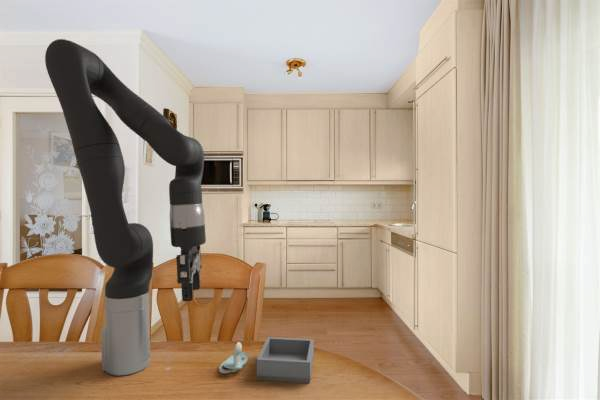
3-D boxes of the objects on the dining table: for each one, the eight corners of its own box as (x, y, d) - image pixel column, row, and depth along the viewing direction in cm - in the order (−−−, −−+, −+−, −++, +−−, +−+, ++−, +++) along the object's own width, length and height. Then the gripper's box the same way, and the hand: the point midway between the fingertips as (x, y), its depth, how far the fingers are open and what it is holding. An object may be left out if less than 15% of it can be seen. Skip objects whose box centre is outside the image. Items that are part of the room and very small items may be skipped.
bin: (256, 379, 78) (256, 359, 77) (267, 354, 89) (267, 337, 89) (309, 383, 76) (310, 362, 76) (313, 357, 88) (313, 339, 88)
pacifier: (213, 375, 80) (239, 377, 78) (212, 348, 79) (238, 349, 78) (226, 360, 87) (250, 362, 86) (225, 335, 87) (249, 336, 85)
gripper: (178, 222, 87) (182, 287, 88) (161, 228, 73) (166, 306, 74) (209, 220, 88) (213, 285, 89) (198, 226, 74) (203, 303, 74)
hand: (191, 294), depth 81 cm, fingers open, 8 cm apart
